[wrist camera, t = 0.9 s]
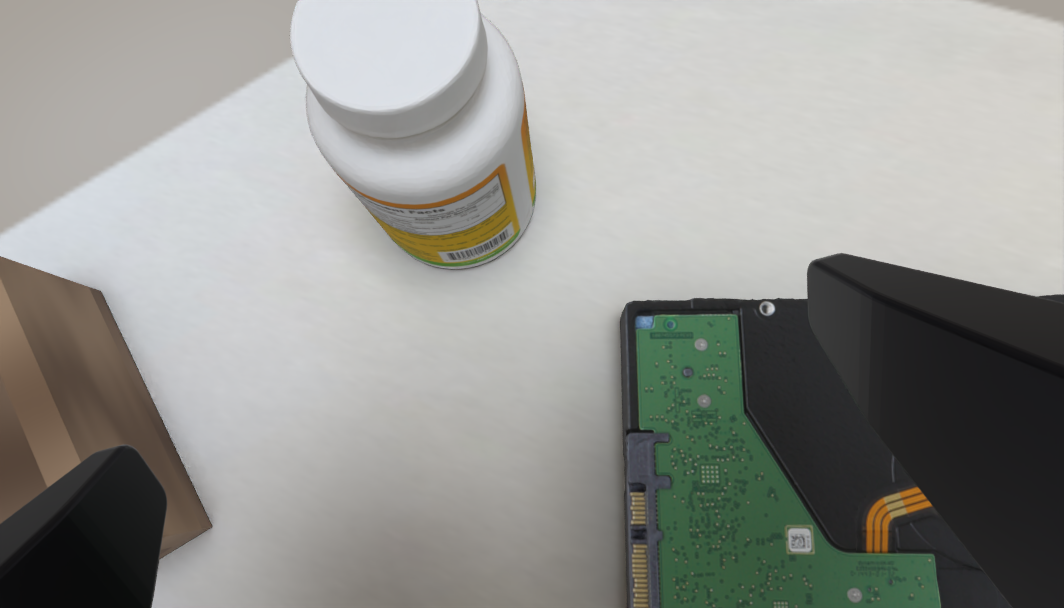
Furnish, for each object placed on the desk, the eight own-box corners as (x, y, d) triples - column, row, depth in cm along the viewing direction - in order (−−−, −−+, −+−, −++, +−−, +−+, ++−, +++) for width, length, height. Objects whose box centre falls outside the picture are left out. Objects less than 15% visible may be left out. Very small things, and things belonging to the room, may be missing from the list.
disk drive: (1071, 307, 22) (612, 316, 23) (1143, 286, 19) (619, 297, 20) (1136, 654, 20) (625, 655, 20) (1228, 686, 17) (636, 686, 18)
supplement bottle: (427, 101, 24) (336, -126, 15) (564, 161, 24) (559, -36, 14) (352, 231, 23) (204, 80, 14) (492, 299, 23) (434, 187, 13)
